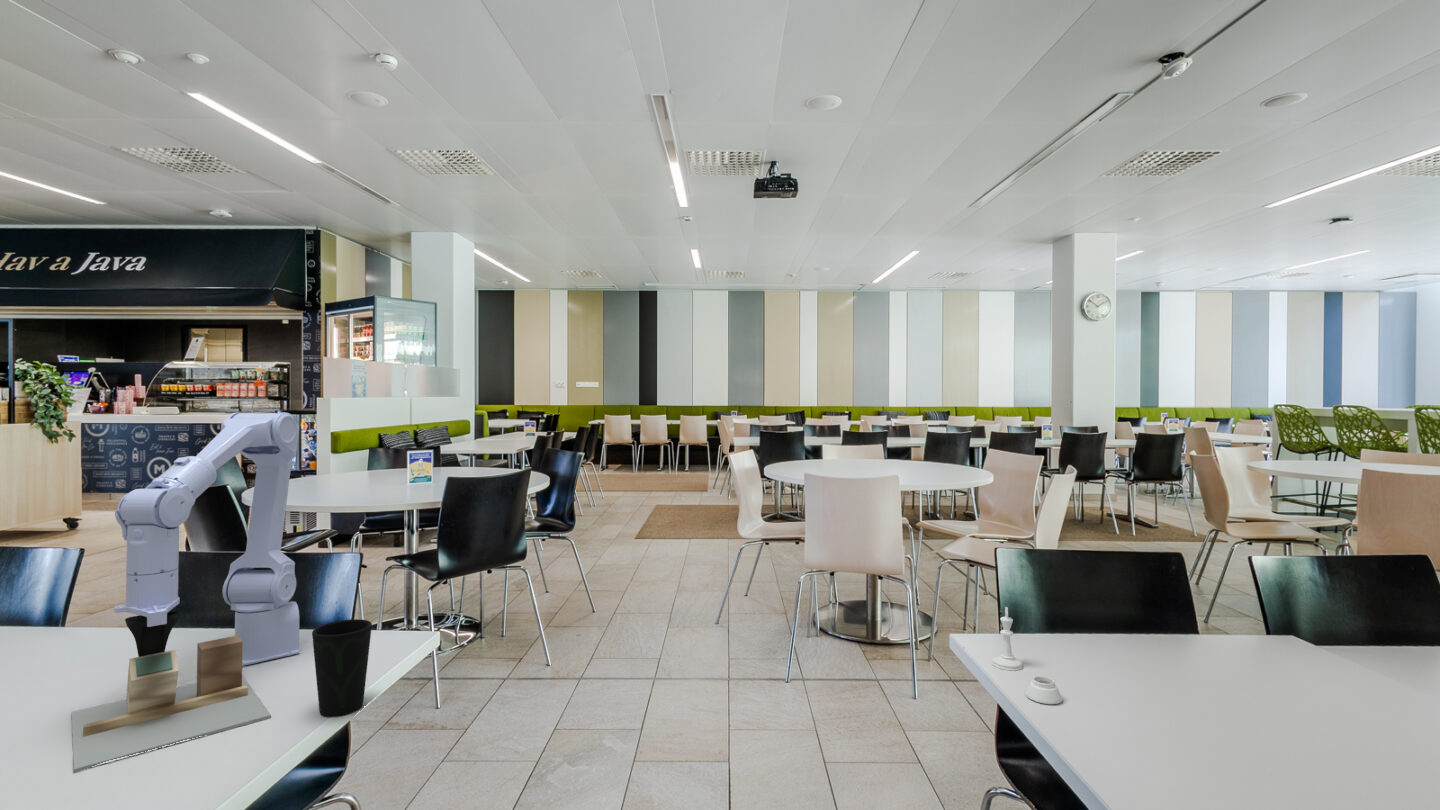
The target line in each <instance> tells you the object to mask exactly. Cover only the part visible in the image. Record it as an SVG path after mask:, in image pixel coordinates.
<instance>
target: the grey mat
mask: <svg viewBox="0 0 1440 810" xmlns="http://www.w3.org/2000/svg"><path fill="white" fill-rule="evenodd" d="M245 685H246V686H247V687H248V695H247V696H243V697H239V698H235V699H231V700H227V701H223V702H219V703H215V704H212V705H208V706H204V707H200V708H196V709H192V710H188V711H184V712H180V713H176V714H172V715H168V716H164V717H160V718H156V719H152V720H148V721H144V722H140V723H136V724H132V725H128V726H124V727H120V728H117V729H113V730H109V731H105V732H101V733H97V734H93V735H89V736H85V737H83V725H85V724H89V723H93V722H97V721H101V720H105V719H109V718H114V717H118V716H122V715H126V714H127V701H126V698H125V699H121V700H117V701H113V702H108V703H103V704H99V705H96V706H95V705H94V706H90V707H86V708H83V709H82V708H81V709H78V710H73V711H71V714H70V715H71V738H72V737H73V739H72V761H73V763H74V764H73V773H78V772H81V770H82V771H85V770H88V769H87V768H89V767H92V766H95V765H97V764H100V763H103V762H106V761H109V760H113V759H117V758H121V757H125V756H129V755H133V754H136V753H141V752H145V751H148V750H152V749H155V748H159V747H162V746H165V745H170V744H173V743H176V742H180V741H183V740H187V739H192V738H196V737H199V736H204V737H206V736H205V735H207V736H210V734H211V735H214V734H218V733H221V732H225V731H229V730H233V729H235V728H238V727H243V726H247V725H250V724H253V723H257V722H260V721H265V720H268V719H271V718H272V714H271V713H270V711H269V710H268V709H267V708H266V706H265V704H264V702H263V701H261V699H260V697H259V696H258V695H257V693H256V691H254V689H253V687H252V686H251V685H250V683H249V682H248V681H247V679H246V678H245V677H244V675H243V674H242V686H245ZM196 697H197V682H195V683H191V684H185V685H181V686H177V688H176V697H175V702H179V701H184V700H188V699H192V698H196ZM196 739H197V738H196ZM92 768H93V767H92ZM84 769H85V770H84ZM89 769H90V768H89Z"/></svg>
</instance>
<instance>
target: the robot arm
mask: <svg viewBox="0 0 1440 810" xmlns="http://www.w3.org/2000/svg"><path fill="white" fill-rule="evenodd" d="M299 433H300V427H299V425H298V423H297V422H296V419H295V417H293V415H292V414H291V413H289V412H280V413H279V412H269V413H268V412H262V413H261V412H255V413H254V412H246V413H245V412H237V411H236V412H233V413H231V414H230V415H228V416H227V418H226V419H224V420H222V421H221V425H220V432H219V433H217V435H216V436H215V437H214V438H213V439H211V440H210V442H209V443H208V444H207V445H205V446H204V448H203V449H202V450H200V452H199V453H197V454H196V456H194V455H189V456H188V455H187V456H183V457H178V458H176V459H175V460H174V461H173V464H172V465H171V466H170V467H169V468H167V469H166V470H165V471H164V472H162V474H160V475H159V476H157V477H155V478H154V479H153V480H152V481H151V483H149V484H147V485H146V487H145V488H136V489H134V490H131V491H129V492H128V493H127V494H125V495H124V496H123V497H122V498H121V499H120V500H119V503H118V506H117V509H115V510H114V515H115V520H116V522H117V523H118V524H119V526H120V527H121V530H122V532H121V534H122V536H121V537H122V538H123V540H124V541H126V567H125V568H126V575H125V577H126V578H125V603H122V604H117V605H114V607H113V608H114V609H113V610H114V613H116V614H117V613H123V612H125V613H128V614H133V615H134V616H133V615H132V616H129V617H127V618H124V621H125V624H126V626H127V627H126V628H128V629H129V631H130V632H131V634H132V636H133V637H134V641H135V645H136V650H137V651H136V652H137V657H141V656H146V655H151V654H156V653H161V652H166V647H167V643H168V639H169V638H170V634H171V633H172V630H173V628H174V626H175V625H176V623H177V621H178V619H179V617H180V615H179V614H178V610H176V608H175V607H176V606H178V605H179V604H180V603H181V602H180V597H179V564H180V563H179V559H180V555H179V553H180V552H179V551H180V550H179V548H180V526H181V525H182V524H184V523H186V522H187V520H188V519H189V516H190V514H191V511H192V507H193V506H194V505H195V502H196V500H197V499H198V497H200V496H201V495H202V494H203V493H204V492H205V491H206V490H207V489H208V488H210V487H211V486H212V485H213V484H214V483H215V482H216V480H217V478H218V477H217V476H218V475H217V474H218V473H217V470H219V469H220V468H221V467H222V466H223V465H225V464H226V463H228V462H229V461H231V460H232V459H233V458H234V457H236V456H237V455H238V454H241V455H242V456H243V457H244V458H246V459H250V460H251V461H252V462H253V463H254V464H255V465H256V473H255V480H254V488H253V495H252V502H251V508H250V509H251V510H250V511H251V512H250V517H249V523H248V533H247V540H246V548H245V552H244V553H243V554H242V555H241V556H239V557H238V558H237V559H235V560H234V561H232V562H231V563H230V564H229V565H230V566H229V571H228V574H227V576H226V578H225V580H224V583H223V585H222V597H223V599H224V602H225V604H227V605H229V606H230V611H235V612H234V636H237V635H238V637H239V638H240V639H241V640H242V641H243V645H242V667H245V666H249V665H253V664H257V663H261V662H267V661H270V660H275V659H280V658H285V657H289V656H294V655H297V654H300V652H301V650H300V609H299V605H298V604H297V602H296V601H291V599H292V598H293V597H294V594H295V592H296V588H297V577H296V572H295V569H296V568H295V567H296V566H295V565H296V562H295V561H294V560H293V559H291V558H290V557H288V556H287V555H286V554H284V553H283V552H282V543H283V537H284V535H283V533H284V526H285V519H286V511H287V501H288V495H289V493H288V492H289V486H290V479H291V477H290V476H291V470H292V464H293V463H292V461H293V459H295V458H296V456H297V449H298V441H299ZM255 568H256V569H255ZM257 568H258V569H257ZM259 568H268V569H259Z"/></svg>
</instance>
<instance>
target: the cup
mask: <svg viewBox="0 0 1440 810" xmlns="http://www.w3.org/2000/svg"><path fill="white" fill-rule="evenodd" d="M372 626H373V624H372V622H371V621H369V620H367V619H360V618H359V619H356V618H355V619H354V618H353V619H344V620H337V621H333V622H328V623H324V624H322V625H319V626H317V627H315V628H314V629H313V630H312V631H311V636H312V646H313V656H314V665H315V666H314V667H315V679H316V689H317V690H316V691H317V698H318V699H317V701H318V709H319V715H320V716H321V717H326V718H339V717H344V716H348V715H351V714H353V713H355V712H357V711H359V710H361V709H362V708H363V706H364V699H365V692H366V691H365V689H366V682H367V672H368V665H369V664H368V663H369V654H370V645H371V644H370V643H371V637H372V635H371V634H372Z"/></svg>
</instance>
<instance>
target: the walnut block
mask: <svg viewBox="0 0 1440 810" xmlns="http://www.w3.org/2000/svg"><path fill="white" fill-rule="evenodd" d="M196 645H197V647H196V648H197V649H196V650H197V652H196V653H197V654H196V656H197V657H196V661H197V662H196V664H197V665H196V683H197V697H200V696H204V695H208V694H212V693H216V692H221V691H225V690H229V689H233V688H237V687H241V686H242V675H243V666H242V645H243V641H242V640H241V639H240V638H239V637H238V635H237V636H235V635H234V636H233V635H231V636H227V637H223V638H218V639H211V640H208V641H203V642H197V644H196Z"/></svg>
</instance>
